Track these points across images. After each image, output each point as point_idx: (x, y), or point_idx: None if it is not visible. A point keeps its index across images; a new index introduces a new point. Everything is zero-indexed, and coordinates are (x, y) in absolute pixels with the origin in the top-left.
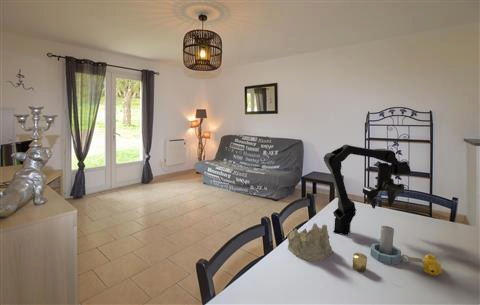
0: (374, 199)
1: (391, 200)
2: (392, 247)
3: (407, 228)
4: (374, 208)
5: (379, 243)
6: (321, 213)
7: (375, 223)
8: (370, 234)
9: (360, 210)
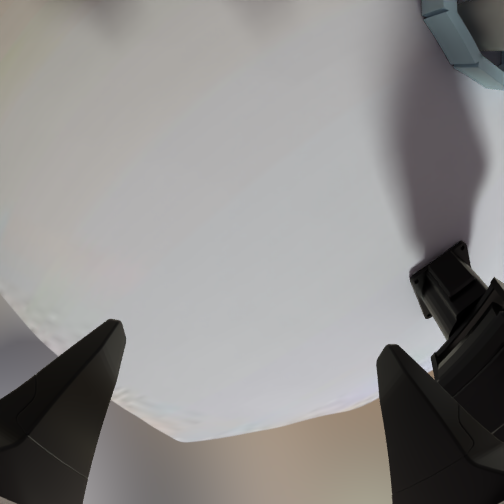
0: (486, 444)
1: (74, 397)
2: (455, 3)
3: (67, 179)
4: (394, 344)
5: (486, 65)
6: (344, 406)
7: (195, 289)
8: (360, 197)
9: (163, 388)
